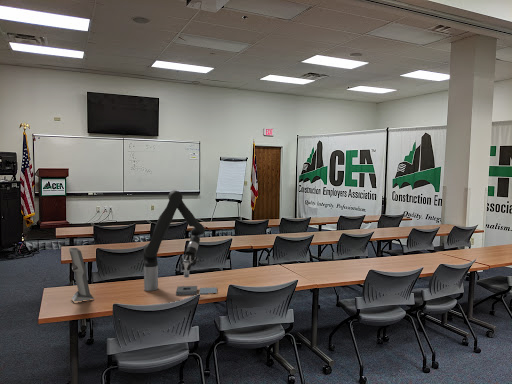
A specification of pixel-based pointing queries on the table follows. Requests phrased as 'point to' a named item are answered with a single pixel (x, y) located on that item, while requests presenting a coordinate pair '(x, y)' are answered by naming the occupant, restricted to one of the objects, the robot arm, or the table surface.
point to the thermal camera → (80, 276)
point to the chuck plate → (186, 290)
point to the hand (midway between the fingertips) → (185, 269)
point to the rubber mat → (208, 290)
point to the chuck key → (186, 272)
